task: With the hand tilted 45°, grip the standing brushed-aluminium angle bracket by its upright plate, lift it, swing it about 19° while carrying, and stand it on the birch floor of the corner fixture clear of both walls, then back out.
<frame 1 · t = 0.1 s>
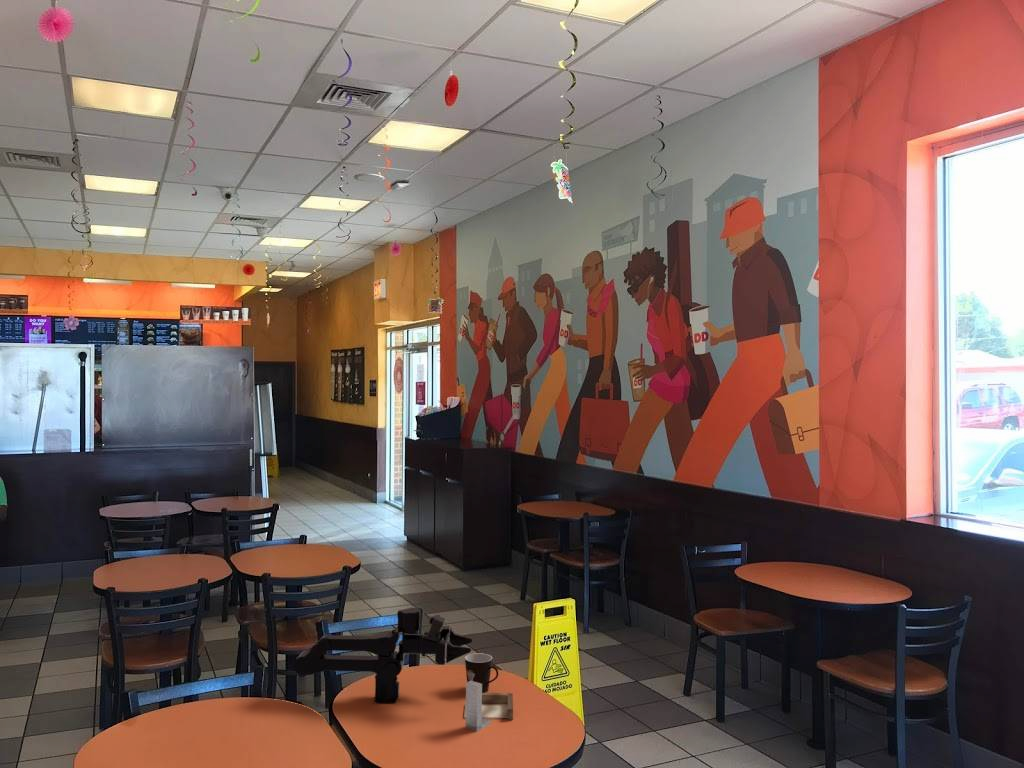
hand: (471, 645, 241), 17 cm above the table, tool horizontal, fingers open, 9 cm apart
corner fixture: (488, 713, 231), on the table
bracket: (473, 728, 221), on the table
coffee mug: (479, 692, 248), on the table
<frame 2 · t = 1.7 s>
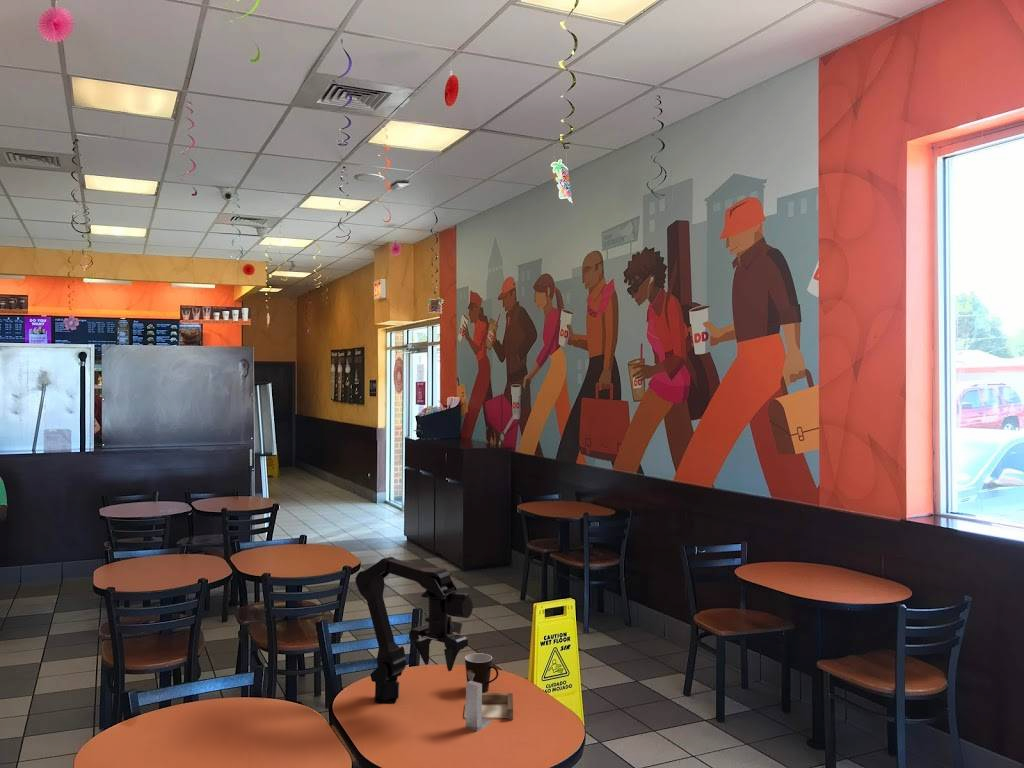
hand: (438, 667, 232), 13 cm above the table, tool pointing down, fingers open, 9 cm apart
nothing on the table moved.
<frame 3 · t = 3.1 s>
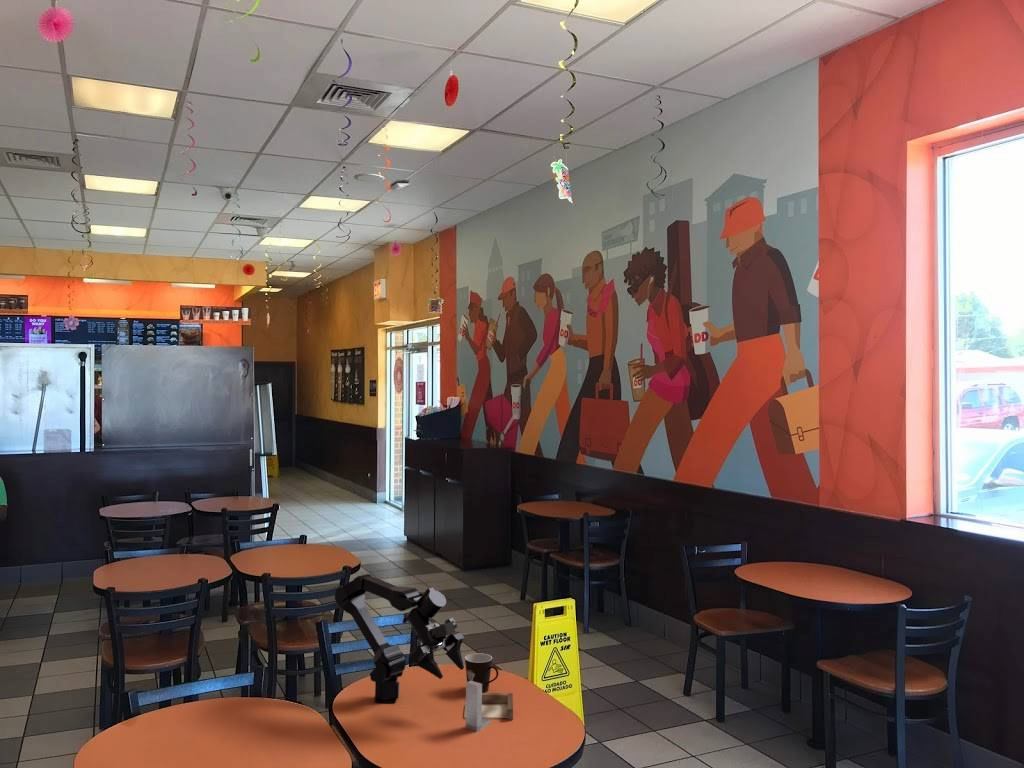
hand: (452, 673, 226), 13 cm above the table, tool tilted 45°, fingers open, 9 cm apart
nothing on the table moved.
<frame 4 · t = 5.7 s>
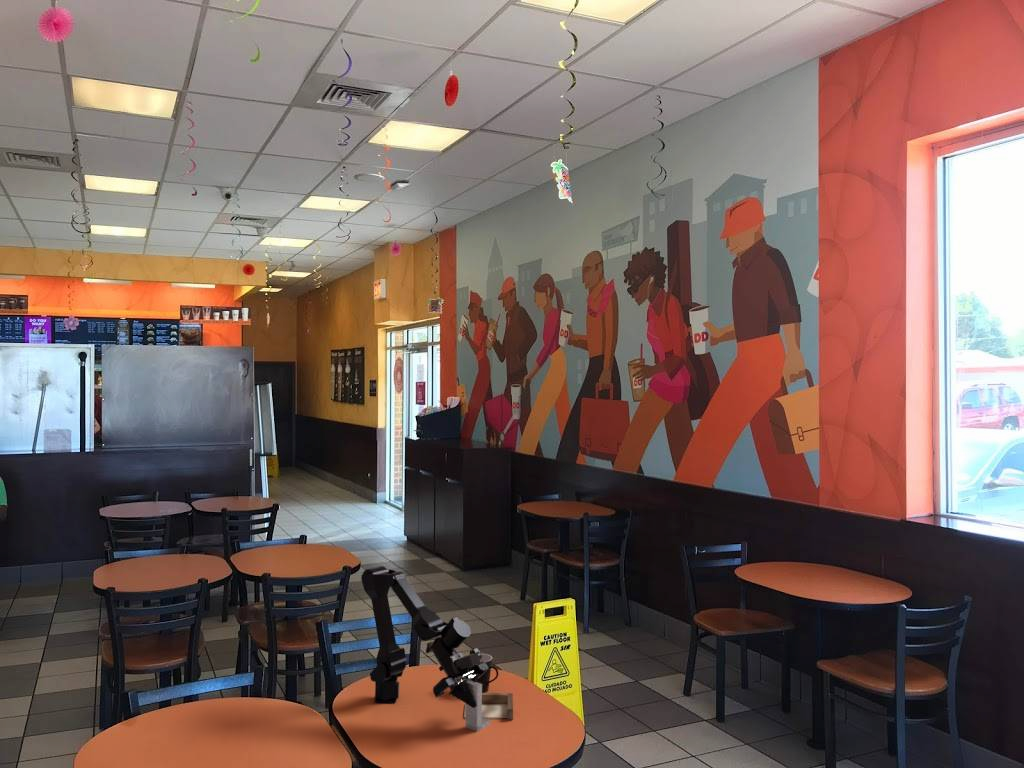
hand: (477, 705, 220), 7 cm above the table, tool tilted 45°, fingers closed on bracket, 2 cm apart
bracket: (473, 728, 221), on the table, touching gripper
everything else where it was.
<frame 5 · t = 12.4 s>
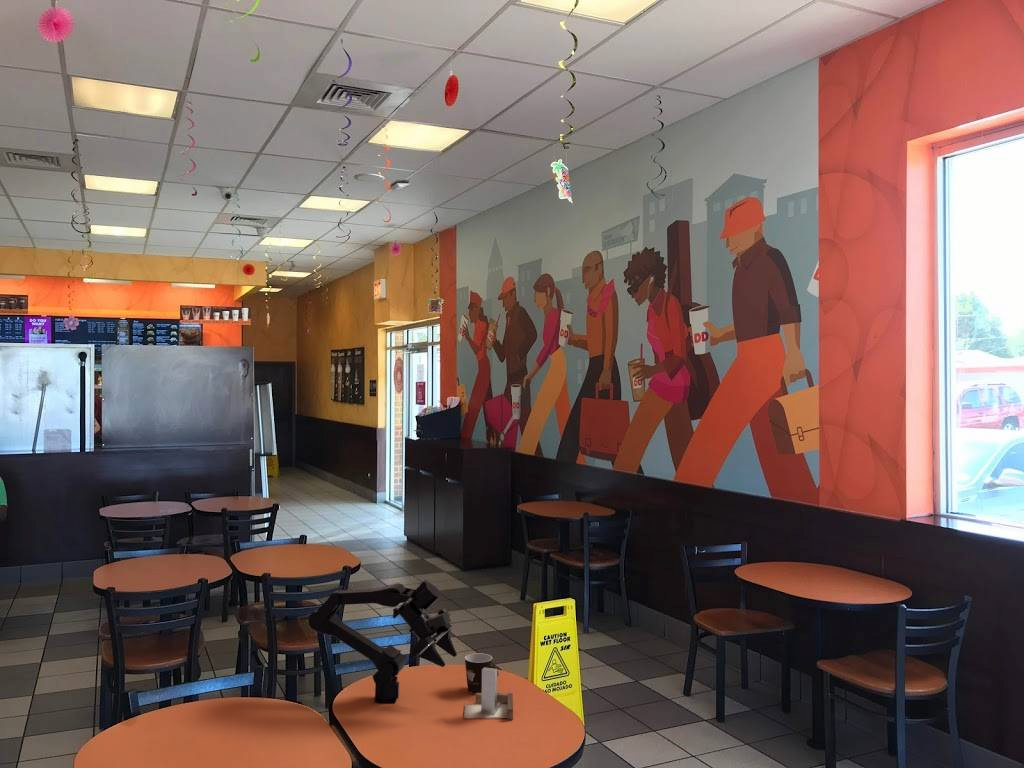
hand: (450, 660, 236), 14 cm above the table, tool tilted 45°, fingers open, 9 cm apart
bracket: (488, 712, 231), resting on corner fixture
everything else where it was.
at the end: bracket 1.2 cm from the target spot on the corner fixture, point 0.4 cm above the corner fixture's base; bracket tilted 0°; the gripper is holding nothing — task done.
